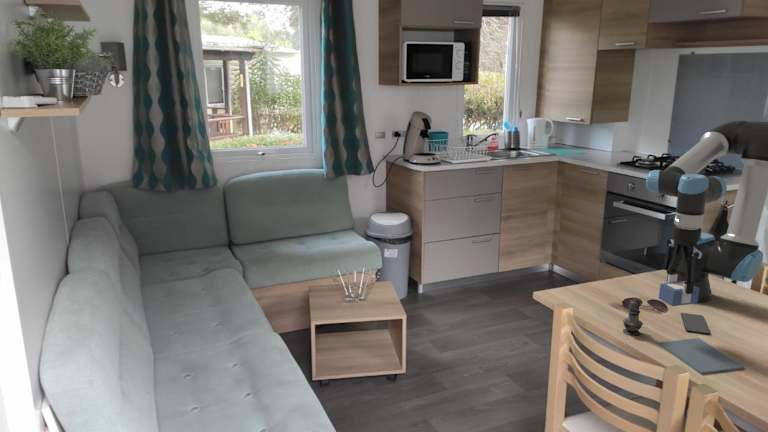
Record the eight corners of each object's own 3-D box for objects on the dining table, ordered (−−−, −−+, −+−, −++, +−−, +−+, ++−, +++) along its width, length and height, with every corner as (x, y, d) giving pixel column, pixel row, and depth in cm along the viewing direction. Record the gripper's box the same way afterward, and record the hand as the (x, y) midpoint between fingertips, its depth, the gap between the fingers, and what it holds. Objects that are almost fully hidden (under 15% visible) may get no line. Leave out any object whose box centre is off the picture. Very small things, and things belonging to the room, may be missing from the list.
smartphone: (703, 315, 198) (710, 333, 184) (702, 317, 198) (710, 336, 184) (680, 312, 200) (686, 330, 186) (680, 314, 200) (685, 332, 187)
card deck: (683, 295, 185) (685, 280, 183) (697, 303, 179) (699, 288, 178) (658, 298, 183) (660, 283, 181) (672, 306, 177) (674, 290, 176)
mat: (698, 339, 181) (698, 337, 181) (744, 368, 164) (744, 366, 164) (658, 344, 178) (658, 342, 178) (701, 374, 161) (701, 372, 161)
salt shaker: (631, 338, 183) (635, 302, 179) (617, 330, 188) (621, 295, 185) (645, 334, 185) (650, 299, 182) (631, 327, 190) (635, 292, 187)
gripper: (655, 218, 183) (647, 287, 189) (699, 236, 165) (688, 312, 171) (677, 217, 184) (668, 285, 190) (722, 234, 166) (711, 309, 172)
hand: (677, 298), depth 180 cm, fingers closed on card deck, 6 cm apart
